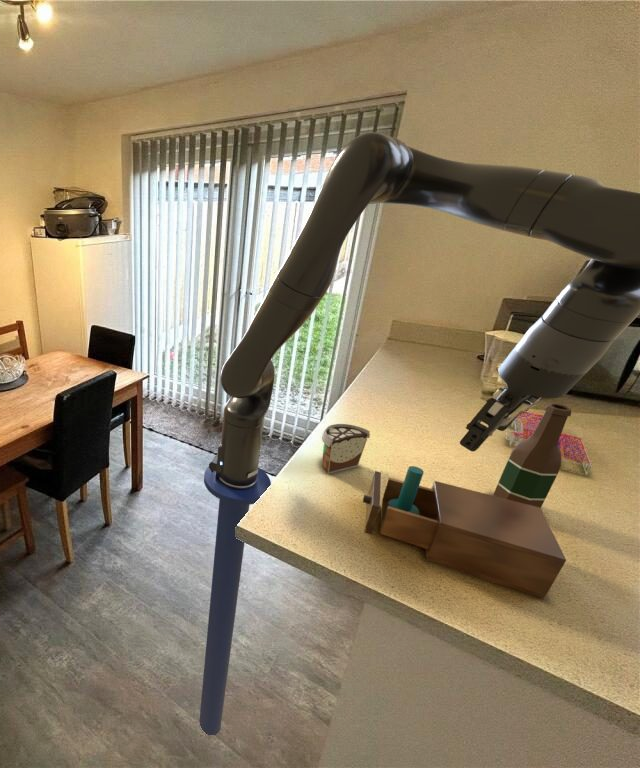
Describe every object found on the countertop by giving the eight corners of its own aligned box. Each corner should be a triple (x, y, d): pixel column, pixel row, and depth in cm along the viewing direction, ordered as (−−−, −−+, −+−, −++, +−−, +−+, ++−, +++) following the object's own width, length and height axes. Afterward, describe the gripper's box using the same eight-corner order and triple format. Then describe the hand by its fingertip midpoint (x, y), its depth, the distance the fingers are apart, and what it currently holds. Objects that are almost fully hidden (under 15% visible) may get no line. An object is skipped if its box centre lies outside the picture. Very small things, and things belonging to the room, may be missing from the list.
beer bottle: (547, 512, 82) (599, 411, 73) (524, 522, 80) (574, 419, 70) (504, 490, 89) (546, 395, 80) (481, 498, 87) (522, 401, 77)
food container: (343, 452, 104) (351, 419, 101) (362, 465, 99) (371, 430, 95) (305, 461, 101) (311, 427, 97) (323, 474, 96) (330, 439, 92)
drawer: (357, 530, 78) (365, 502, 75) (361, 494, 87) (368, 469, 85) (457, 563, 70) (470, 534, 67) (449, 520, 80) (460, 493, 77)
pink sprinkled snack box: (502, 414, 122) (508, 399, 120) (572, 429, 113) (580, 413, 111) (503, 456, 101) (510, 439, 99) (588, 479, 92) (599, 461, 90)
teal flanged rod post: (384, 522, 78) (399, 472, 73) (384, 506, 82) (399, 459, 77) (416, 532, 75) (434, 481, 71) (414, 515, 79) (431, 466, 75)
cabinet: (426, 559, 72) (440, 522, 68) (422, 514, 83) (434, 480, 79) (544, 599, 64) (566, 560, 61) (522, 543, 75) (540, 507, 71)
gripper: (544, 327, 57) (480, 407, 67) (492, 356, 52) (431, 438, 62) (612, 353, 52) (531, 435, 62) (562, 388, 47) (483, 471, 57)
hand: (481, 436), depth 62 cm, fingers open, 8 cm apart
